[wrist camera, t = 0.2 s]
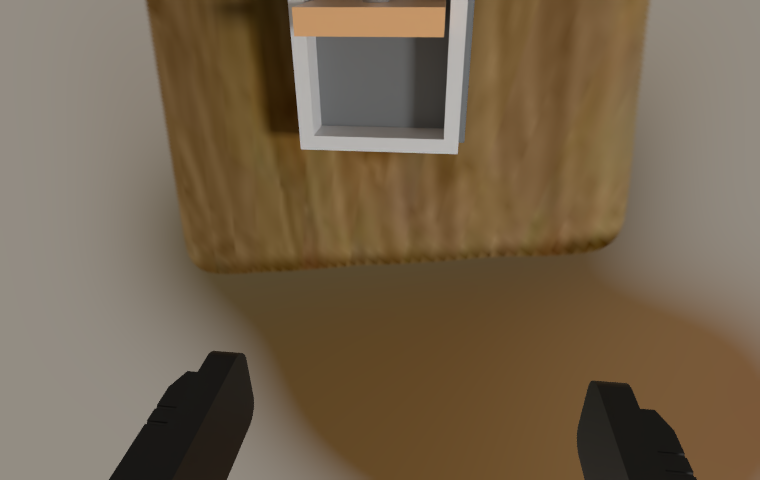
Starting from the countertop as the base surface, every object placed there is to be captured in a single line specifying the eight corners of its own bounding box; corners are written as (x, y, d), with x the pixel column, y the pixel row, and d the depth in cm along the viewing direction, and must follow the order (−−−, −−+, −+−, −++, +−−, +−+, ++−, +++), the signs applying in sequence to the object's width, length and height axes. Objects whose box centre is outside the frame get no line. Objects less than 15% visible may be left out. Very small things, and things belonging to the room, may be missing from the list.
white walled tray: (281, -160, 30) (254, -179, 26) (486, -168, 29) (492, -189, 25) (306, 133, 39) (288, 156, 35) (463, 138, 38) (465, 162, 34)
